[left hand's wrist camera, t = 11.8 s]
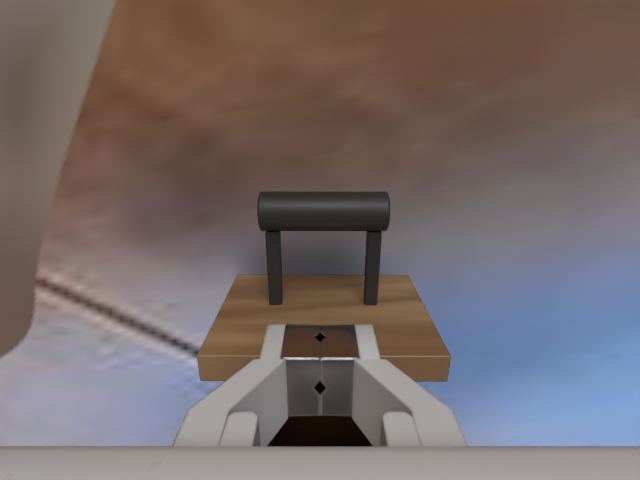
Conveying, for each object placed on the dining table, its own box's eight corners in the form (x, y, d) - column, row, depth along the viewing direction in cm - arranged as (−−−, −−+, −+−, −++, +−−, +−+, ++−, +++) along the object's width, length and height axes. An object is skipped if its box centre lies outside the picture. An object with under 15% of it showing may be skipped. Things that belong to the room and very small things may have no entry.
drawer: (228, 178, 18) (177, 218, 12) (417, 179, 18) (472, 219, 12) (257, 509, 27) (236, 642, 20) (386, 509, 27) (408, 642, 20)
